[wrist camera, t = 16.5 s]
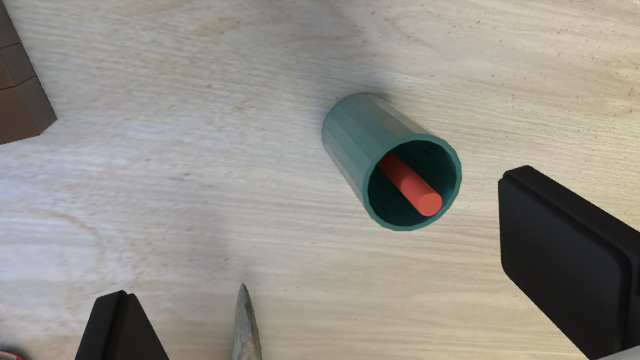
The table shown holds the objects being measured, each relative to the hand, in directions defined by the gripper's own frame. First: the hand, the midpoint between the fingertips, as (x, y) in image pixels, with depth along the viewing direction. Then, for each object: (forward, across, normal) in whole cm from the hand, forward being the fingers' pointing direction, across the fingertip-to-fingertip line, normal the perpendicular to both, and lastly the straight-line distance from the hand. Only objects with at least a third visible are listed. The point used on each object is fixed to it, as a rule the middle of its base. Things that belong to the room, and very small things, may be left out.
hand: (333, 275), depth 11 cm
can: (+28, -8, +8) cm, 30 cm away
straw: (+28, -8, +8) cm, 30 cm away
